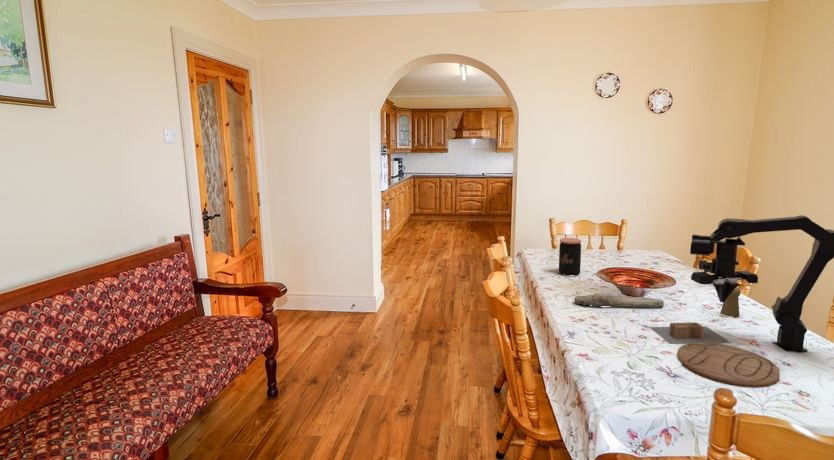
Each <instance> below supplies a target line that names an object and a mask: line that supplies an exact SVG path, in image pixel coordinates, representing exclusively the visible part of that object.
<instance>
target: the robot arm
mask: <svg viewBox="0 0 834 460" xmlns="http://www.w3.org/2000/svg"><path fill="white" fill-rule="evenodd" d="M797 230H799V231H800V230H801V231H802V232H804V233H806V234H807V235H809V236H810V237H811V238H814V241H813V243H812V248H811V253H810V256H809V258H808V260H807V261H806V263H805V265H804V267H803V268H802V270H801V272H800V274H799V275H798V277H797V278H796V280H795V281H794V284H793V285H792V287H791V289H790V290H789V292H788V294H787V295H785V296H784V297H783V298H782V297H780V296H777V297H776V300H775V302H774V304H773V305H772V306H771V308H772V315H773V317H774V319H775V321H776V324H778V325H779V326H778V330H777V336H776V338H777V339H776V341H772V343H771V344H773V345H775V346H777V347H778V348H781V349H783V350H784V351H786V352H797V353H800V352H801V353H806V352H807V353H808V352H809V351H808V349H806V348H805V347H804V343H805V336H806V335H805V334H806V333H807V331H808V329H807V327H806V326H805V323H804V322H803V321H802V320H801V316H802V314H803V306H804V302H805V301H806V299H807V297H808V296H809V294H810V292H811V291H812V289H813V287H814V286H815V284H816V282H817V281H818V279H819V277H820V276H821V274H822V273H823V271H824V269H825V268H826V266H827V265H828V263H829V262H830V261H831V260H833V259H834V229H827V228H826V229H825V228H824V227H822V226H821V225H819V224H817V223H816V222H814V221H813V220H811V218H809V217H808V216H806V215H803V214H801V215H800V214H799V215H797V216H789V217H775V218H773V217H772V218H763V219H762V218H761V219H753V220H751V219H744V218H743V219H742V218H723V219H722V220H720V222H719V223H718V225H717V228H716V229H715V230H714V231H713V232H712V233H710V235H699V234H694V233H693V234H692V235H691V242H690V250H689V254H690V255H697V256H708V257H709V256H710V255H712V254H714V253H715V257H713V258H712V260H711V262H708V260H707V259H704V260H703V259H702V260H699V261H698V269H699V270H700V271H694V272H692V273H691V276H690V280H691V281H693V282H695V283H697V284H700V285H713V287H714V289H715V290H716V294H717V297H718V300H719V303H723V302H725V300H726V299H727V298H728V296H729V295H730V294H731V293H732V291H733V290H734V289H735V288H738V287H739V286H741V284H740V283H738V281H743V280H744V281H746V283H748V284H758V282H759V277H758V275H757V274H756V273H754V272H751V271H748V270H736V268H737V266H739V264H740V261H738V260H737V256H738V246H745V245H746V242H745V241H744V240H743V239H742V238H741V237H744V236H747V235H749V234H755V233H757V234H758V233H769V232H782V231H783V232H784V231H797ZM715 245H716V248H715ZM702 270H703V271H702ZM708 272H709V273H708Z"/></svg>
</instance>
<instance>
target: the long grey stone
mask: <svg viewBox="0 0 834 460" xmlns="http://www.w3.org/2000/svg"><path fill="white" fill-rule="evenodd" d="M574 302H575V303H576V304H577V303H578V305H579V304H582V305H581V306H586V305H592V306H610V307H609V308H614V307H615V308H618V307H619V308H623V307H624V308H628V307H629V308H630V309H633V308H632V307H634V308H639V309H640V308H641V309H660V308H661V309H662V308H664V305H665V303H664V302H665V301H664V300H662V299H660V298H659V299H658V298H652V297H639V296H638V297H637V296H636V297H635V296H618V295H614V294H612V293H608V294H607V293H606V294H596V293H595V294H588V295H576V296H575V297H574Z"/></svg>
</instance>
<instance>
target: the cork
mask: <svg viewBox="0 0 834 460" xmlns="http://www.w3.org/2000/svg"><path fill="white" fill-rule="evenodd" d="M741 293H742V292H741V289H740V288H739V287H736V288H735V289H734V290H733V291H732V293H731V294H730V295H729V296H728V298H727V299H726V300H725V302H722V306H721V310H720V315H723V316H726V317H732V318H740V304H739V296H741Z"/></svg>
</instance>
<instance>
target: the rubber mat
mask: <svg viewBox="0 0 834 460" xmlns="http://www.w3.org/2000/svg"><path fill="white" fill-rule="evenodd" d="M703 327H704V331H703V338H685V339H676V338H674V337H673V336H672V335H670V334H669V333H670V326H649V328H650V329H651V330H652V331H653V332H655V333H656V334H657V335H658V336H659V337H660V338H662V339H663V340H664V341H665V342H667V343H669V344H670V345H686V344H689V343H699V342H703V343H717V344H732V342H731V341H730V340H728V339H726V338H725V337H724V336H722V335H720V334H718V333H717V332H716V331H714V330H713V329H711V328H709V327H708V326H703Z"/></svg>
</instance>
